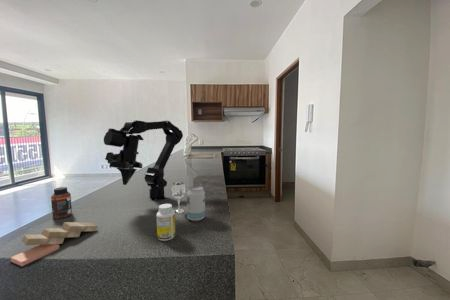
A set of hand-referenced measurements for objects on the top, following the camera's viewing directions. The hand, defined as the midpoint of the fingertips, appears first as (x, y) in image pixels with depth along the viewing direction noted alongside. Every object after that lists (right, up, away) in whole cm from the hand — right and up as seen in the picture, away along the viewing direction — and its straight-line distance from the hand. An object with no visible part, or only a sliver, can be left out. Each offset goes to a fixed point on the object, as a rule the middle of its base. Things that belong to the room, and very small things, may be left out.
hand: (124, 184), depth 82 cm
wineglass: (+24, -11, -1) cm, 26 cm away
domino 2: (-7, -13, -27) cm, 30 cm away
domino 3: (-5, -12, -20) cm, 24 cm away
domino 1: (-7, -12, -24) cm, 28 cm away
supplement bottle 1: (-22, -12, -6) cm, 25 cm away
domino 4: (-2, -12, -16) cm, 20 cm away
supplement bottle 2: (+24, -13, -21) cm, 35 cm away
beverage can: (+32, -12, -8) cm, 35 cm away
